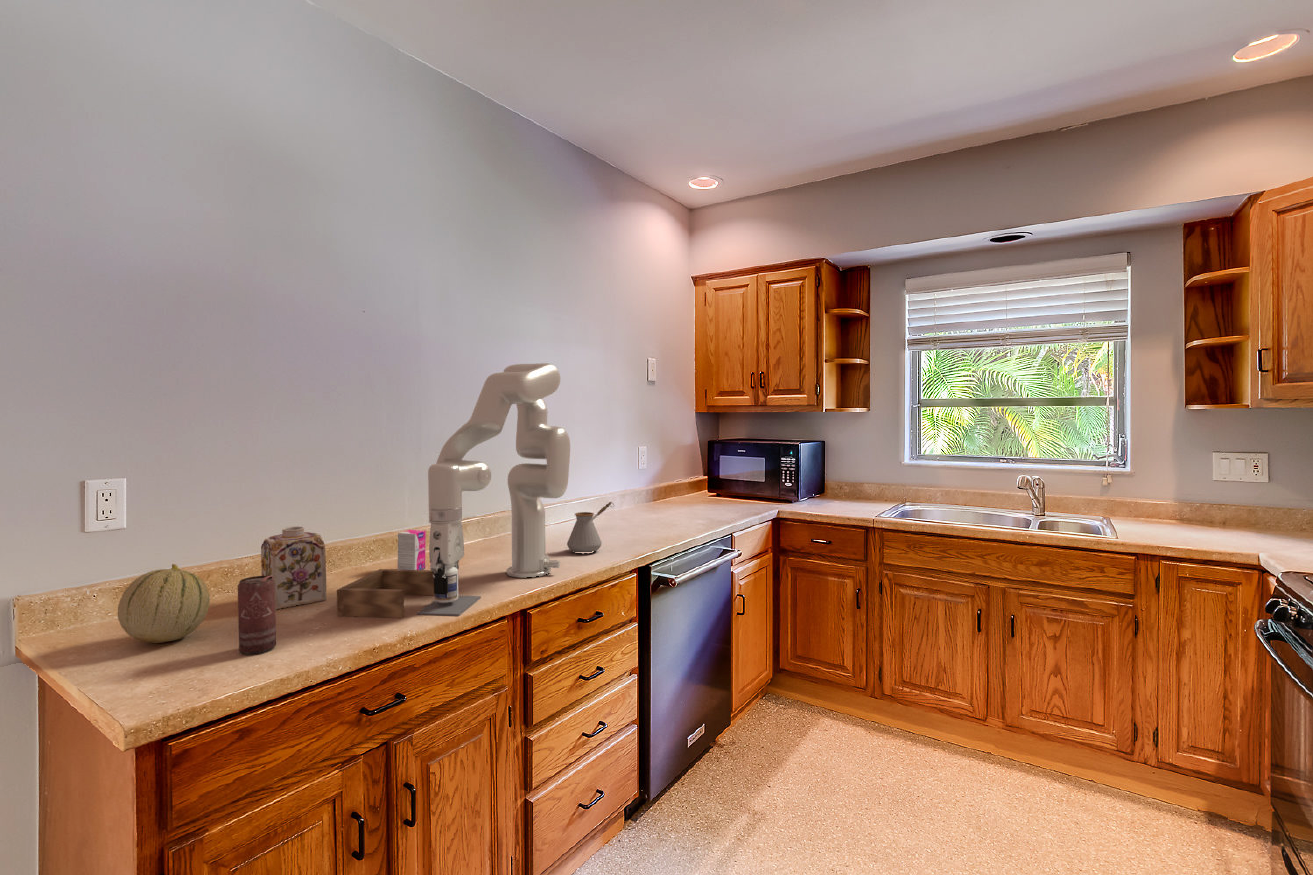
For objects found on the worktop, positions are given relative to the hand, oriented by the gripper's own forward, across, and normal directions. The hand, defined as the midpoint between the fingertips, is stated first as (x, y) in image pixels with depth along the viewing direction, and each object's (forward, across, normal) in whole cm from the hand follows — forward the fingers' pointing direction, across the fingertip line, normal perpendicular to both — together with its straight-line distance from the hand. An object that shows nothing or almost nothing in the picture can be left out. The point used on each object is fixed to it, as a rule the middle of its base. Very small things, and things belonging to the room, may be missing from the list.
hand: (446, 589), depth 151 cm
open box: (+4, 0, +14) cm, 15 cm away
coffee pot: (+4, +65, -24) cm, 69 cm away
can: (+4, -30, +25) cm, 39 cm away
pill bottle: (+3, 0, 0) cm, 3 cm away
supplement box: (+4, +32, +24) cm, 40 cm away
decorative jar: (+4, +1, +39) cm, 39 cm away
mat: (+4, 0, -1) cm, 4 cm away
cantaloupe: (+4, -27, +47) cm, 55 cm away
